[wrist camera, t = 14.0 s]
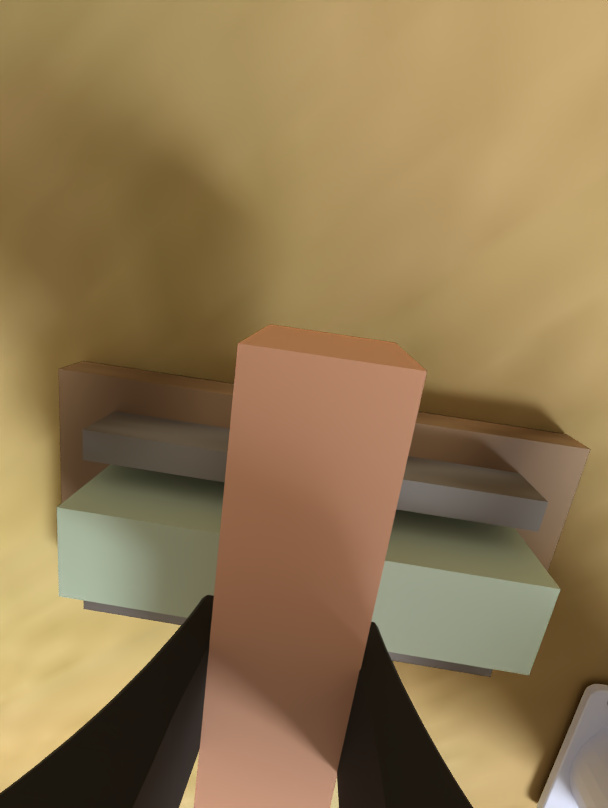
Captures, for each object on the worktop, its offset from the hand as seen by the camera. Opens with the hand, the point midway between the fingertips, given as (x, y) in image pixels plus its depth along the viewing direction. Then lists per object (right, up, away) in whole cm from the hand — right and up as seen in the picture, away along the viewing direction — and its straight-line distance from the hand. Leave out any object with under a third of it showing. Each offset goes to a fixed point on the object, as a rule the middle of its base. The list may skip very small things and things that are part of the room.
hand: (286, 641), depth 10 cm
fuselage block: (0, +1, +5) cm, 5 cm away
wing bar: (0, +1, +2) cm, 2 cm away
